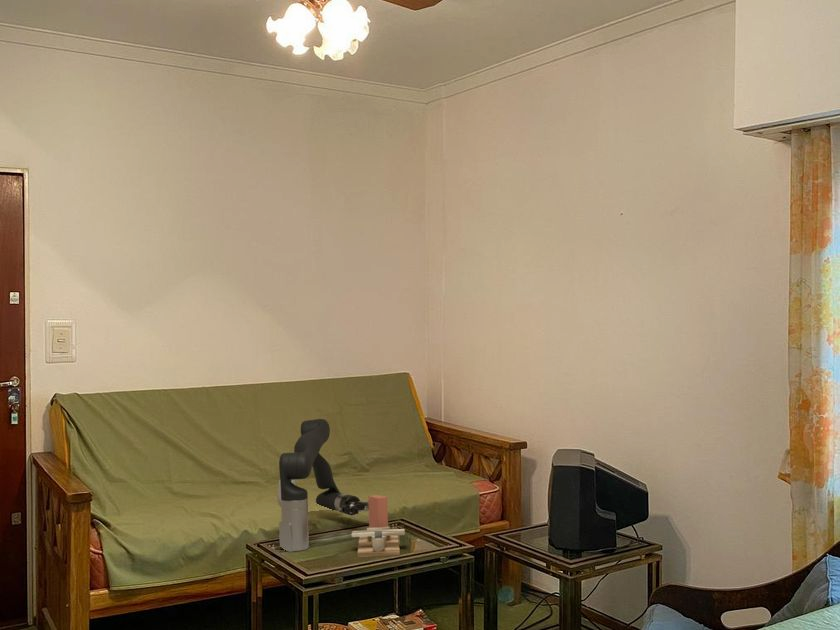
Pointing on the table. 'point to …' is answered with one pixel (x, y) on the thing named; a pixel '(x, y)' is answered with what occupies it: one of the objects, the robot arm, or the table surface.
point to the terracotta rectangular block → (378, 511)
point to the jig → (378, 541)
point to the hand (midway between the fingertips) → (367, 509)
